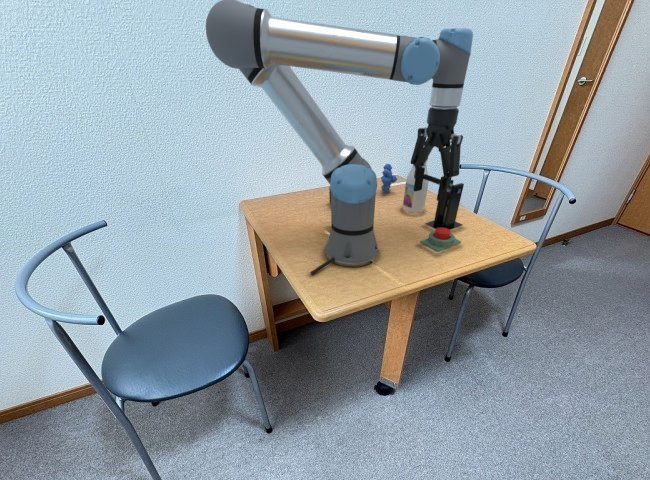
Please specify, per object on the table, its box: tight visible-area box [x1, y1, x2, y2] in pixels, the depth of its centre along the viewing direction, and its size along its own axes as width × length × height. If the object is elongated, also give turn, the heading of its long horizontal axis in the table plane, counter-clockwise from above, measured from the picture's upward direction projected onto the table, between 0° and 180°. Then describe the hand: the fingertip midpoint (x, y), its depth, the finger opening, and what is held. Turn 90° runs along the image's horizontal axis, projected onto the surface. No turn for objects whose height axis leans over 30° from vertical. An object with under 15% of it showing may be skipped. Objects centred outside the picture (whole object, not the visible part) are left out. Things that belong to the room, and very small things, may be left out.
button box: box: [419, 230, 462, 253], centre depth 97 cm, size 10×7×4 cm
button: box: [434, 227, 452, 240], centre depth 96 cm, size 4×4×2 cm
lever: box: [423, 174, 454, 193], centre depth 98 cm, size 13×6×2 cm, turn 123°
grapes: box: [380, 163, 398, 194], centre depth 131 cm, size 12×7×12 cm, turn 165°
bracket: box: [424, 179, 465, 231], centre depth 104 cm, size 10×8×15 cm
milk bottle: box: [402, 157, 430, 214], centre depth 113 cm, size 8×8×20 cm
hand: (428, 194), depth 97 cm, fingers open, 9 cm apart
